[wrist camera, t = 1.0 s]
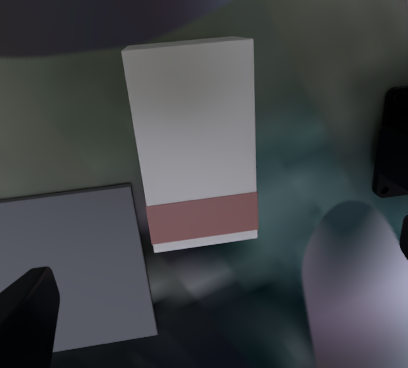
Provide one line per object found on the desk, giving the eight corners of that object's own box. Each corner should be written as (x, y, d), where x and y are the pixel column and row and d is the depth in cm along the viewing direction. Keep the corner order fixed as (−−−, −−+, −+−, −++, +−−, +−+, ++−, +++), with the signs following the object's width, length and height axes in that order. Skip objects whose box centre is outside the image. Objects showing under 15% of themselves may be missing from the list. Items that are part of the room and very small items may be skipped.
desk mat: (130, 183, 20) (130, 186, 19) (157, 329, 24) (157, 334, 24) (-124, 215, 18) (-129, 219, 18) (-44, 363, 23) (-48, 368, 23)
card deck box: (232, 36, 17) (254, 38, 14) (239, 200, 21) (258, 238, 17) (126, 45, 17) (119, 51, 13) (153, 212, 21) (153, 253, 17)
